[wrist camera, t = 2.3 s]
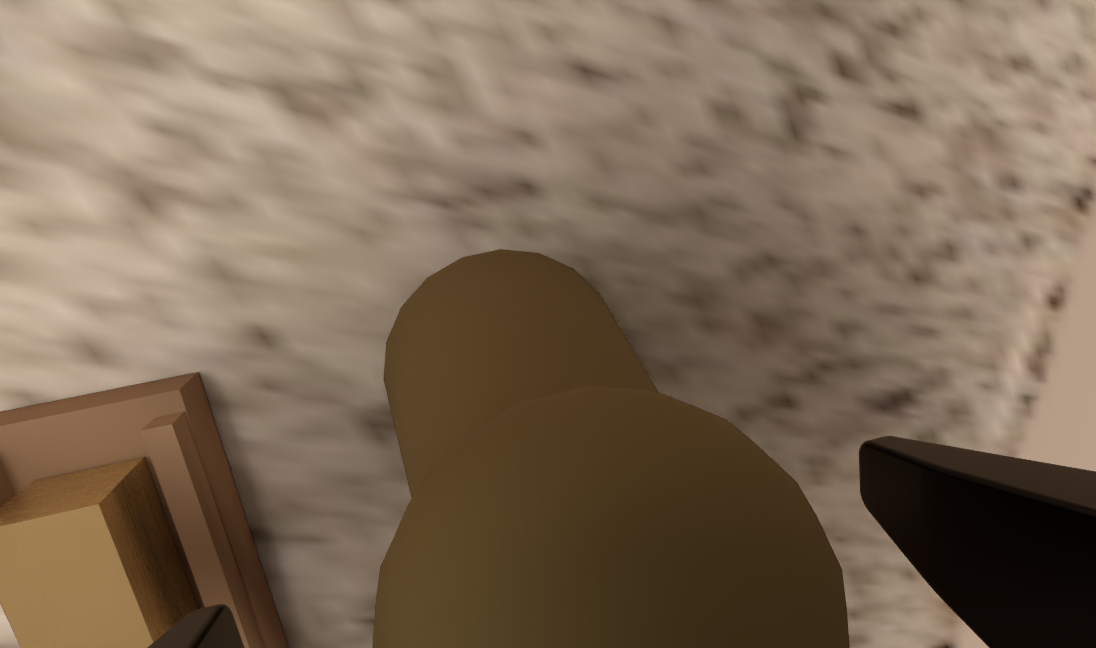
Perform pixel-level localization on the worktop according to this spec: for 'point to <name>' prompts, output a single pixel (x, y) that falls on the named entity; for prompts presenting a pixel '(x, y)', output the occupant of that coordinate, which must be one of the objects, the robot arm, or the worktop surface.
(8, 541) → the bar
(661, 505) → the olive pepper mill
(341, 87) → the worktop surface
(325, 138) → the worktop surface
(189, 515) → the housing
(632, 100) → the worktop surface
